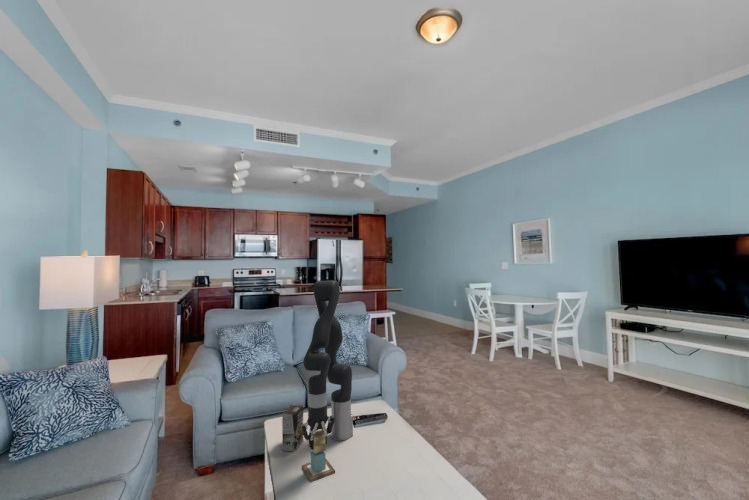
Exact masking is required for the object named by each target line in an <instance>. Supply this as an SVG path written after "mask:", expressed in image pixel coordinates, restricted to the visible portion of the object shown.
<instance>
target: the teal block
mask: <svg viewBox="0 0 749 500" xmlns="http://www.w3.org/2000/svg"><path fill="white" fill-rule="evenodd" d="M326 459H327V457H326V452H325V450H324V451H321V452H318V453H314V452H313V450H310V463H311V468H312V469H313V471H314V472H318V471H321V470H324V469H326Z"/></svg>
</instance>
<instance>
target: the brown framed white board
mask: <svg viewBox="0 0 749 500" xmlns="http://www.w3.org/2000/svg"><path fill="white" fill-rule="evenodd" d="M301 469H302V470H303V472H304V474H305V476H306V477H307V479H308V481H309V482H310V483H313V482H314V481H317V480H320V479H323V478H325V477H328V476H330V475H333V474H336V470H335V468H334V467H333V465H331V463H330V462H329V461H328V459H327V458H326V469H324V470H321V471H318V472H314V471H313V469H312V468H311V462H307V463H306V464H303V465H301Z"/></svg>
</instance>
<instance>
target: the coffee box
mask: <svg viewBox="0 0 749 500" xmlns="http://www.w3.org/2000/svg"><path fill="white" fill-rule="evenodd" d="M281 414H282V417H281V418H282V419H281V420H282V421H281V422H282V424H281V425H282V428H281V431H282V440H281V441H282V447H281V448H282V449H281V450H282V451H286V452H296V451H297V450H298V449H299V448H300V446H301V445H302V443H303V442H304V435H303V432H302V429H301V426H300V425H301V424H302V423H303V424H304V405H290V406H289V407H288V408H287V409H285V411H283V413H281Z"/></svg>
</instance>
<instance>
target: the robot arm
mask: <svg viewBox="0 0 749 500" xmlns="http://www.w3.org/2000/svg"><path fill="white" fill-rule="evenodd" d="M340 293H341V287H340V284H339V282H338V281H337V280H333V279H331V280H318V281H315V282H314V285H313V295H314V300H315V305H316V309H317V311H318V316H319V318H317V320H316V321H315V323H314V327H313V330H312V337H311V342H310V345H309V346H308V349H307V351H306V353H305V355H304V358H303V367H304V369H305V370H306V371H311V372H312V371H316V372H319V374H315V375H311V376H310V377H309V378H308V384H307V385H308V395H307V420H306V422H303V423H302V424H301V425H300V426H301V429H302V432H303V439H304V440H306V441H308V447H309V449H311V451H313V449H314V441H313V438H314V435H315V433H316V431H318V430H322V431H323V433H325V446H326V445H327V443H328V435H329V434H331V438H332V439H333V440H335V441H346V440H349V439H350V438H351V437H352V436H354V427H353V425H354V424H353V423H354V422H353V421H354V416H353V414H352V404H351V403H352V397H351V395H352V389H353V387H352V386H353V384H352V383H353V370H352V367H351V365H348V364H343V363H342V364H341V363H338V359H337V354H338V352H339V350H340V347H341V345H342V343H343V338H344V337H343V329H342V325H341V323H340V321H339V320H338V319H337V317H336V316H334V315H335V313H336V309H337V306H338V302H339V299H340ZM321 349H324V352H323V351H321V352H318V351H319V350H321ZM327 380H328V381H327ZM327 382H329V383H330V384H332V385H338V386H340V388H339V389H335V390H333V392H331V395H330V398H331V401H330V402H331V403H330V405H331V406H330V407H331V408H330V409H331V410H330V412H331V413H330V414H331V415H329V416H328V393H327ZM326 425H327V426H326ZM308 426H309V429H308ZM307 429H308V430H309V433H308V431H307Z"/></svg>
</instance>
